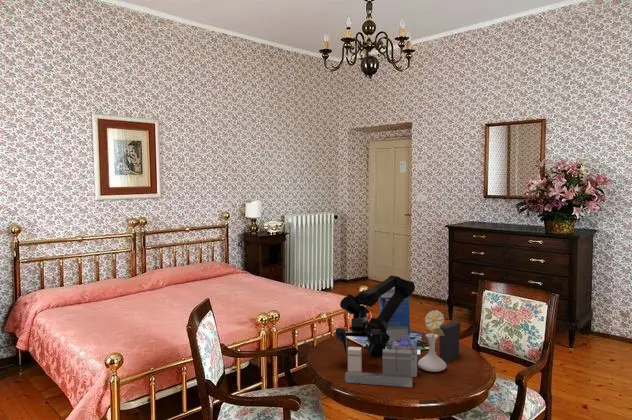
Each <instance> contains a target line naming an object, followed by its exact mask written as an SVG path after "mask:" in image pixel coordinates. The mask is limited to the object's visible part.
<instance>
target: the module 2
mask: <svg viewBox="0 0 632 420" xmlns="http://www.w3.org/2000/svg"><path fill="white" fill-rule="evenodd" d="M381 357H382V374H390V375H396V350H394V349H392V348H391V349H390V348H386V349H383V356H381Z"/></svg>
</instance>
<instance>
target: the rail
mask: <svg viewBox="0 0 632 420" xmlns="http://www.w3.org/2000/svg"><path fill="white" fill-rule="evenodd" d="M344 375H345V376H344V377H343V381H344V382H345V383H347V384H359V383H360V384H361V385H365V384H366V385H374V386H375V385H376V386H391V387H400V388H401V387H402V388H403V387H404V388H413V377H412V376H405V375H390V374H383V373H376V372H375V373H374V372H362V373H361V372H348V371H345V374H344Z"/></svg>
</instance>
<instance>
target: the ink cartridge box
mask: <svg viewBox="0 0 632 420" xmlns="http://www.w3.org/2000/svg"><path fill="white" fill-rule="evenodd" d="M401 339H407V341H402V340H401ZM391 349H394V350H396V375H397V351H398V350H411V376H412V378H414V377H415V378H417V376H418V342H413V341H412V342H410V341H409V337H400V342H391Z"/></svg>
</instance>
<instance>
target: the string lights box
mask: <svg viewBox="0 0 632 420" xmlns="http://www.w3.org/2000/svg"><path fill="white" fill-rule="evenodd" d="M393 294H394V288H392V289H391V290H389V291H388V292H386V293H385V294H383V295H382V296H380V297H379V299H378V301H379V302H378V303H379V308H378V309H379V314H380V313H381V312H382V310H383V309H384V308H385V306H386V305H387V303H388V302H389V300H390V299H391V297H392V296H393ZM410 315H411V313H410V296H409V297H407V298H405V299H404V300H403V301H402V302H401V304H400V305H399V307H398V308H397V310H396V311H395V313H394V314H393V316H392V317H391V319H390V320H389V322H388V323H387V331H386V333H387V334H388V335H389V336H390V338H389V341H388V343H393V342H394V341H395V342H396V341H400V337H409V340H410V341H411V323H410V322H411V321H410V320H411V319H410ZM401 340H402V341H406V340H407V339H401Z"/></svg>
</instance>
